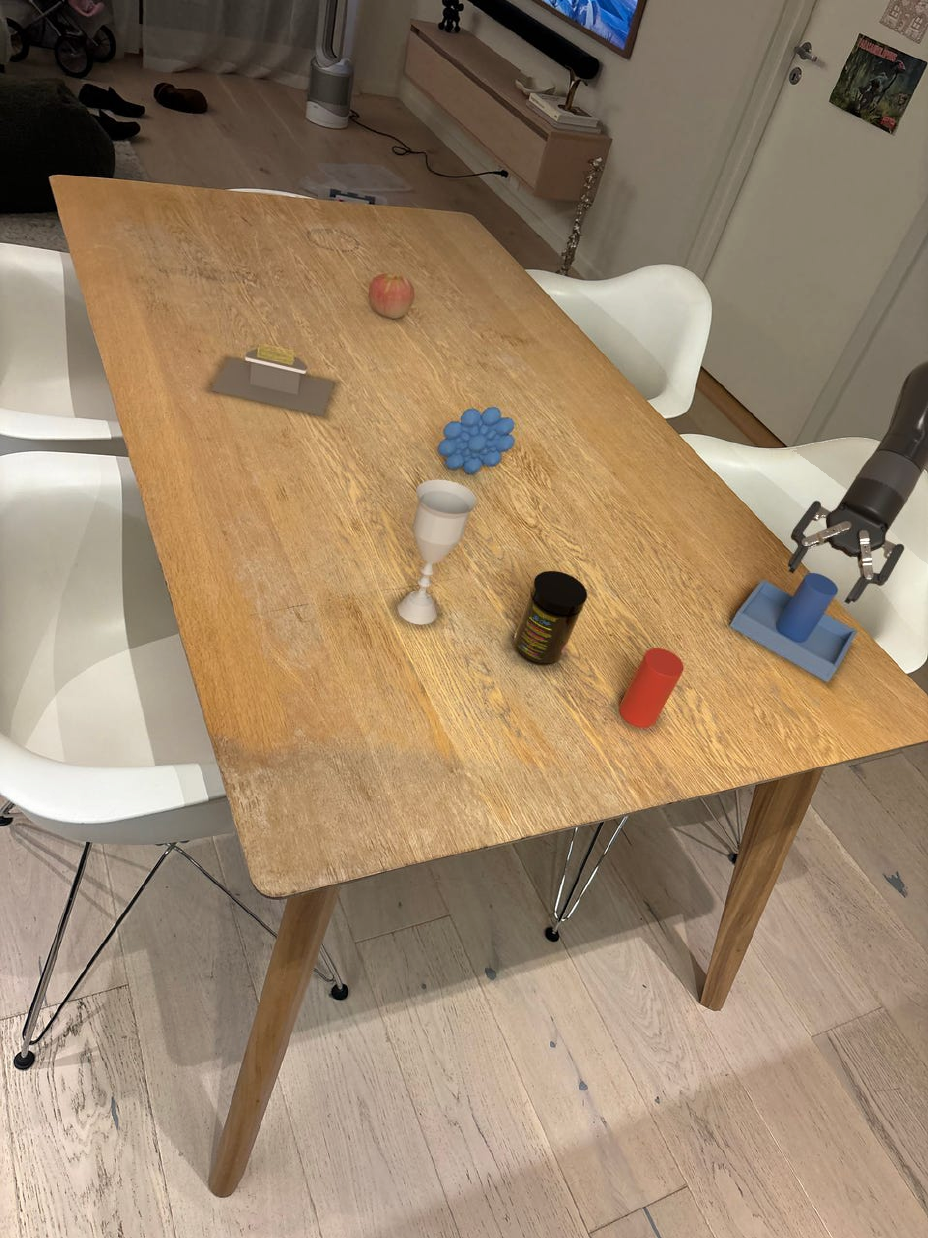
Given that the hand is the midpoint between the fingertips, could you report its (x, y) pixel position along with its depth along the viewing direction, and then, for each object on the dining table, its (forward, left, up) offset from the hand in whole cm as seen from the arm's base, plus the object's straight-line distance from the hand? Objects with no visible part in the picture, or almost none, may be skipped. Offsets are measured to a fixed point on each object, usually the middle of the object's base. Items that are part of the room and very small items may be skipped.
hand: (819, 586), depth 129 cm
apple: (+98, -28, -8) cm, 102 cm away
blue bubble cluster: (+55, +6, -8) cm, 56 cm away
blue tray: (0, +2, -8) cm, 8 cm away
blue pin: (0, +2, -7) cm, 8 cm away
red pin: (+10, +34, -8) cm, 37 cm away
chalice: (+40, +40, -8) cm, 57 cm away
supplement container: (+25, +34, -8) cm, 43 cm away
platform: (+90, +13, -8) cm, 91 cm away
